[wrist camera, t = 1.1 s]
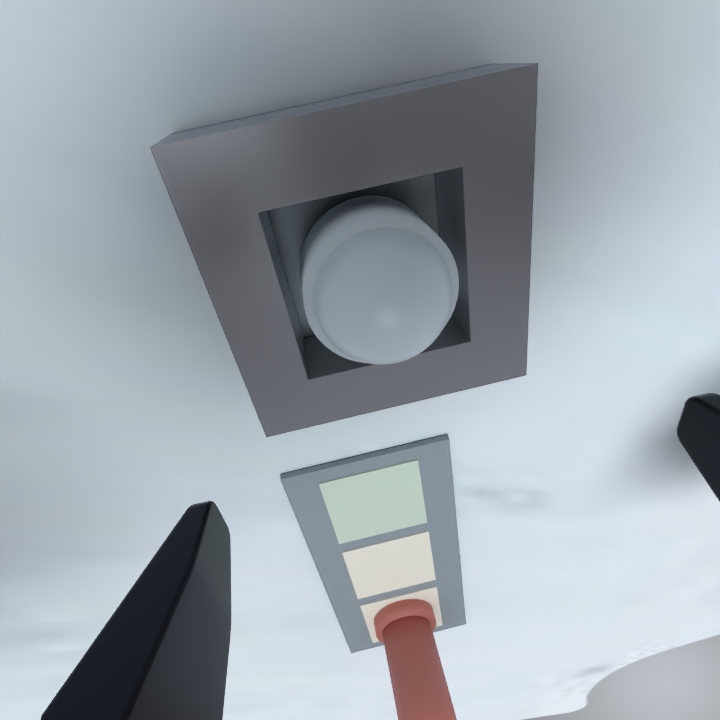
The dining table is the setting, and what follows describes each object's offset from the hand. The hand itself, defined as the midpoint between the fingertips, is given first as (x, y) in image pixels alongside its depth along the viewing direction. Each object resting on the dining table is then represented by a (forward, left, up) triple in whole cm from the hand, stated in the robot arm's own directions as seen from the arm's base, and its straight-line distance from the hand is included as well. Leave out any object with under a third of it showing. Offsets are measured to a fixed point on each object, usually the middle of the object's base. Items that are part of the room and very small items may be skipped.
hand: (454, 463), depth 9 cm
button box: (0, -1, -13) cm, 13 cm away
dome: (0, -1, -12) cm, 12 cm away
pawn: (-2, -31, -13) cm, 33 cm away
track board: (-2, -24, -13) cm, 27 cm away
